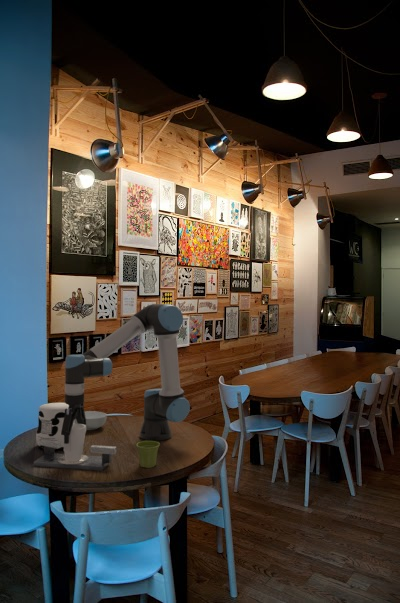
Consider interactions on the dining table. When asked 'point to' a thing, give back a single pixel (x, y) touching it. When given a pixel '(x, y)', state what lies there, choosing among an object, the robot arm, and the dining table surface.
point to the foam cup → (76, 442)
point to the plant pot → (148, 453)
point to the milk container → (51, 422)
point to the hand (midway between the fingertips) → (74, 446)
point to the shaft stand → (85, 463)
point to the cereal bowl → (94, 419)
